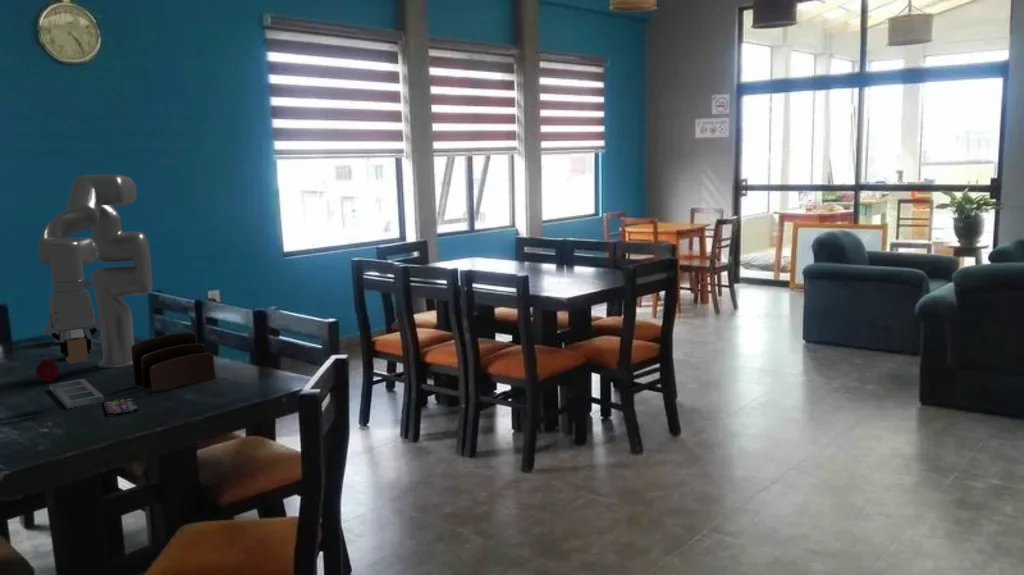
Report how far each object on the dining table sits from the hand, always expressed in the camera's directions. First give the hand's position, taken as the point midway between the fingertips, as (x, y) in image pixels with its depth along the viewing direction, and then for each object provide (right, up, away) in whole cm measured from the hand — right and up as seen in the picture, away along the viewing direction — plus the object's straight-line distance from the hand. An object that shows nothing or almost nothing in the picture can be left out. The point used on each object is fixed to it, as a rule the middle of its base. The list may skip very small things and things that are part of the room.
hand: (76, 353), depth 221 cm
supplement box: (-46, -2, +82) cm, 94 cm away
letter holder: (+19, -11, +20) cm, 29 cm away
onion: (-21, -11, +24) cm, 33 cm away
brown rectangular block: (0, -2, 0) cm, 2 cm away
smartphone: (+13, -14, -3) cm, 20 cm away
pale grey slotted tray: (-4, -13, +8) cm, 16 cm away
